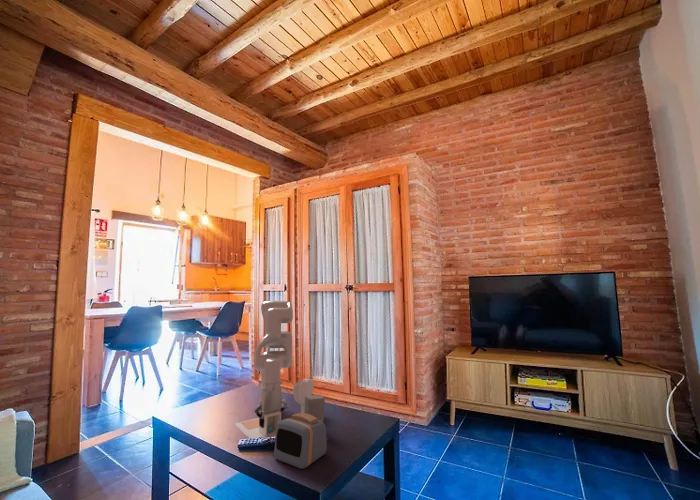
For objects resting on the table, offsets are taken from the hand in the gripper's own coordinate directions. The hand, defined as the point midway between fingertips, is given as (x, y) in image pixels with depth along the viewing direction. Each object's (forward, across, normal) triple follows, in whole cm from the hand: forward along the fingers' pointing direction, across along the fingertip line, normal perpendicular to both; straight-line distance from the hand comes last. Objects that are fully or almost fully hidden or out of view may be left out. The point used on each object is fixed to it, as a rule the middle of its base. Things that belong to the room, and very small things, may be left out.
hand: (269, 424), depth 153 cm
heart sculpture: (+4, -24, -10) cm, 26 cm away
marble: (+2, 0, 0) cm, 2 cm away
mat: (+4, +2, -6) cm, 7 cm away
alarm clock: (+4, -1, +27) cm, 27 cm away
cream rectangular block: (+3, 0, 0) cm, 3 cm away
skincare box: (+4, -18, +10) cm, 21 cm away
